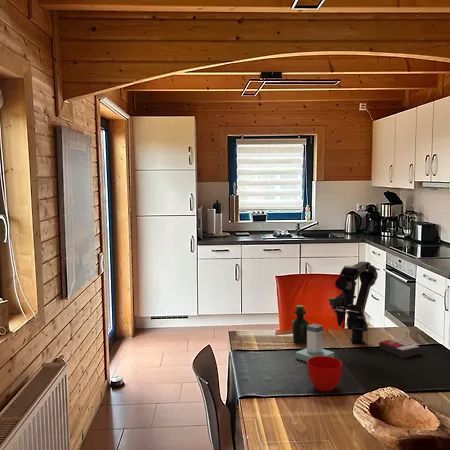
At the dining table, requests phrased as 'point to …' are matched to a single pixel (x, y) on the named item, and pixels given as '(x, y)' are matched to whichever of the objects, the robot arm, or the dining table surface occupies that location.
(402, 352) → the red grey flat block
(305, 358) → the stand
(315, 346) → the housing
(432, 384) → the dining table surface
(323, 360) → the ceramic cup
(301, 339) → the potion bottle
